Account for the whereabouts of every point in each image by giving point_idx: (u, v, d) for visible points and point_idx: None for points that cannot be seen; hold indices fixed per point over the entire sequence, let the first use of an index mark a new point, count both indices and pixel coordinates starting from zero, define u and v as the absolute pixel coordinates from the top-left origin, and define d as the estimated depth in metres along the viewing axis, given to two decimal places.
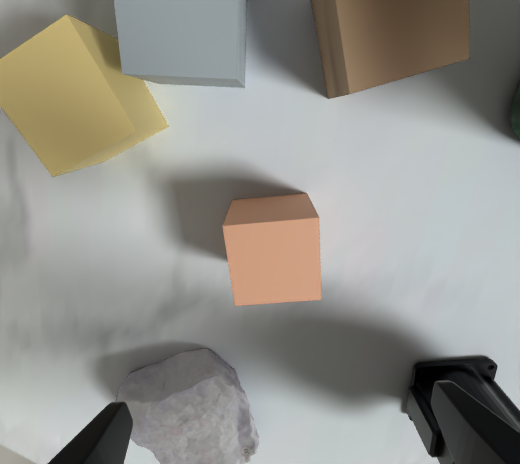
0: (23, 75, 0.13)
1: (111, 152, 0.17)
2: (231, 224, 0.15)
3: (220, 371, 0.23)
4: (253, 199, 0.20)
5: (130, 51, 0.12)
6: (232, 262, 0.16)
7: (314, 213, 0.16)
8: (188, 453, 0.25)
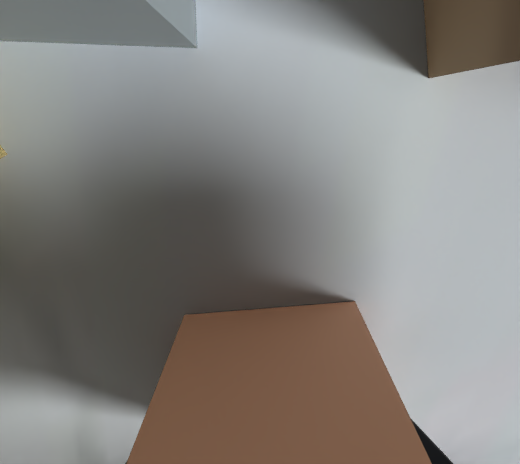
0: None
1: None
2: None
3: None
4: (231, 321, 0.08)
5: None
6: None
7: None
8: None
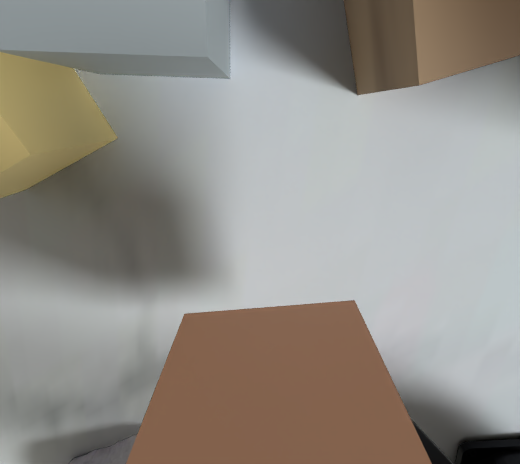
0: None
1: (21, 181, 0.11)
2: None
3: None
4: (231, 319, 0.08)
5: None
6: None
7: None
8: None
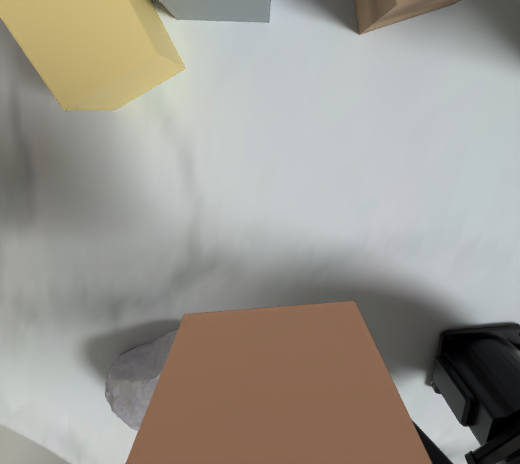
0: None
1: (125, 91, 0.15)
2: None
3: None
4: (230, 320, 0.08)
5: None
6: None
7: None
8: None
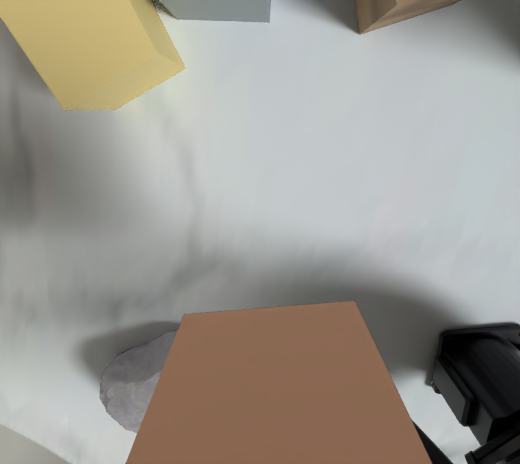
0: None
1: (125, 91, 0.15)
2: None
3: None
4: (230, 320, 0.08)
5: None
6: None
7: None
8: None
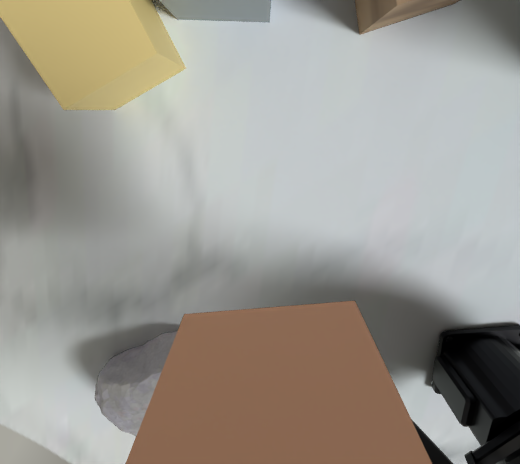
0: None
1: (125, 91, 0.15)
2: None
3: None
4: (230, 320, 0.08)
5: None
6: None
7: None
8: None
